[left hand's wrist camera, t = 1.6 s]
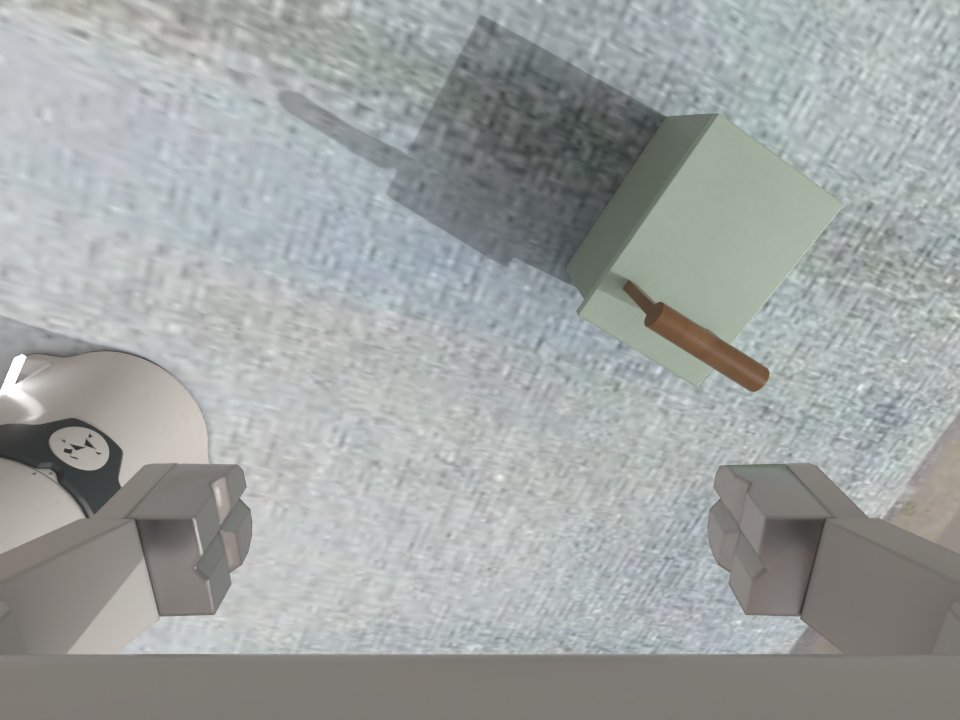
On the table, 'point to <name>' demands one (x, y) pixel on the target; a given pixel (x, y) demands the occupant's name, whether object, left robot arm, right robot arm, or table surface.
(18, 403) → the left robot arm
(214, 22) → the table surface
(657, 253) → the lid
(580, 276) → the chest
